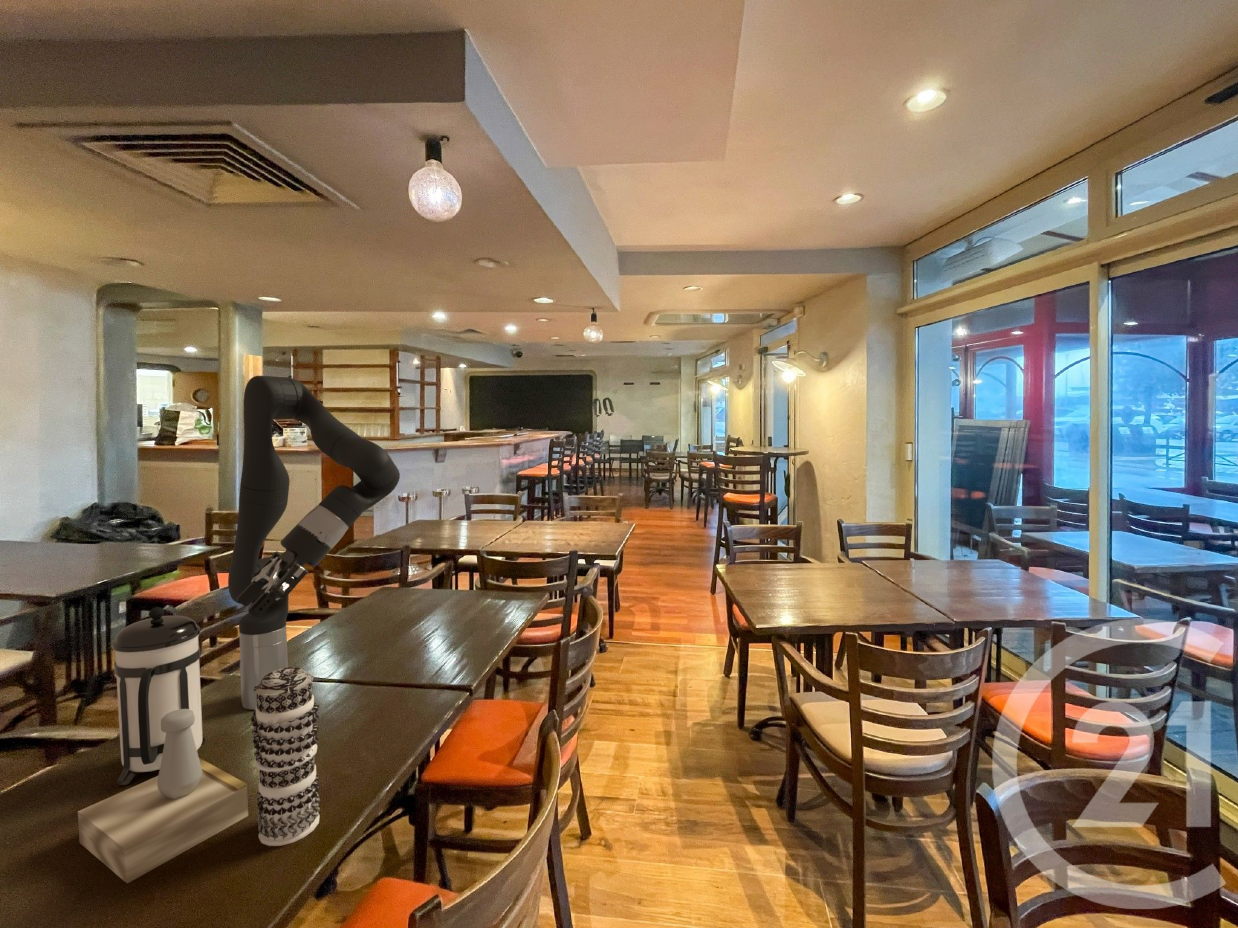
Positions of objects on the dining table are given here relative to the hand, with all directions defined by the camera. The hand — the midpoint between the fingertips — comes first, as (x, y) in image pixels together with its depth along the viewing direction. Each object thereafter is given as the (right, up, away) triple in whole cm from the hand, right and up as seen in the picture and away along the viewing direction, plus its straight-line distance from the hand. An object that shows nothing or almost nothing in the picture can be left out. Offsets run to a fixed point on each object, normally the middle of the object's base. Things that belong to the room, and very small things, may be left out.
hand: (246, 608), depth 100 cm
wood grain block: (-7, -32, -9) cm, 34 cm away
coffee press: (-20, -32, +7) cm, 38 cm away
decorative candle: (+13, -33, -9) cm, 36 cm away
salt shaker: (-5, -28, -8) cm, 29 cm away
